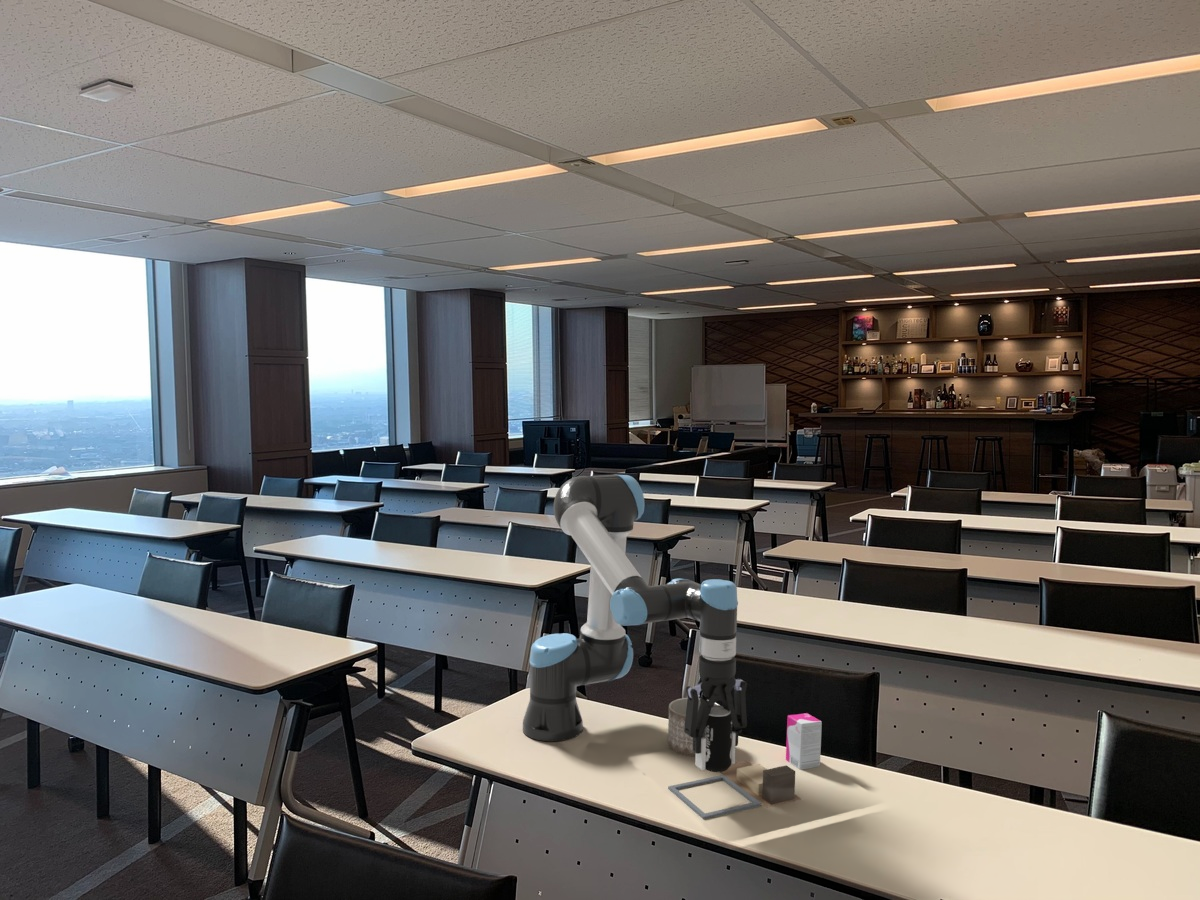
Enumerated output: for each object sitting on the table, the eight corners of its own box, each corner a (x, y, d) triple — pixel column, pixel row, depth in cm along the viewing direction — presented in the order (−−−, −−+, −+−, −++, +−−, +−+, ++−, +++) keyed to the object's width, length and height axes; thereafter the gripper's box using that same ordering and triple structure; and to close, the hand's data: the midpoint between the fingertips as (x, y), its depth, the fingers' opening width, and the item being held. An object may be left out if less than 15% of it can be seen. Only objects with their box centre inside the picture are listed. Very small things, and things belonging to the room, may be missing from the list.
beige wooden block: (736, 779, 183) (736, 768, 183) (759, 774, 186) (759, 763, 186) (758, 795, 176) (758, 784, 176) (781, 790, 179) (781, 779, 178)
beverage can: (730, 774, 171) (731, 717, 170) (698, 771, 172) (699, 714, 171) (731, 761, 177) (733, 705, 176) (700, 758, 178) (701, 703, 178)
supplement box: (821, 770, 191) (822, 721, 190) (799, 774, 189) (800, 724, 188) (805, 759, 196) (807, 711, 196) (784, 763, 194) (785, 715, 193)
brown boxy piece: (712, 771, 189) (713, 741, 189) (745, 764, 193) (746, 735, 193) (766, 811, 171) (767, 778, 171) (801, 803, 175) (802, 770, 175)
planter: (723, 742, 206) (724, 700, 205) (717, 763, 193) (718, 719, 193) (672, 736, 209) (673, 695, 208) (663, 757, 197) (664, 713, 196)
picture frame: (668, 793, 179) (668, 786, 178) (723, 781, 184) (723, 774, 184) (703, 824, 166) (703, 816, 166) (761, 810, 172) (761, 803, 172)
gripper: (686, 666, 166) (684, 780, 167) (767, 655, 174) (764, 763, 175) (667, 656, 172) (665, 765, 174) (746, 645, 181) (743, 749, 182)
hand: (715, 764), depth 175 cm, fingers closed on beverage can, 7 cm apart
